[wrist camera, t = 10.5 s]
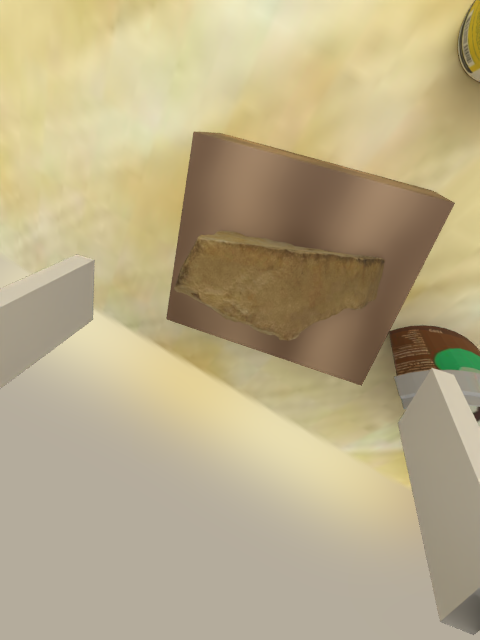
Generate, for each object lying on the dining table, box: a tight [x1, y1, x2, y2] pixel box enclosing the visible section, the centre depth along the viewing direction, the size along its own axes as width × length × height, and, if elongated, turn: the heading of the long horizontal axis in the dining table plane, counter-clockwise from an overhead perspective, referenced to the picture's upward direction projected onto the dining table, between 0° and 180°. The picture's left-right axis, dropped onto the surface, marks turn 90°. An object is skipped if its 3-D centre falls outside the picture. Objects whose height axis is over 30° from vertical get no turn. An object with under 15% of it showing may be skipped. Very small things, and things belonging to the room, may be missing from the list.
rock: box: [174, 231, 385, 341], centre depth 19 cm, size 11×9×10 cm
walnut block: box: [167, 132, 455, 386], centre depth 24 cm, size 14×12×5 cm
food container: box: [389, 326, 480, 427], centre depth 22 cm, size 12×6×10 cm, turn 32°
